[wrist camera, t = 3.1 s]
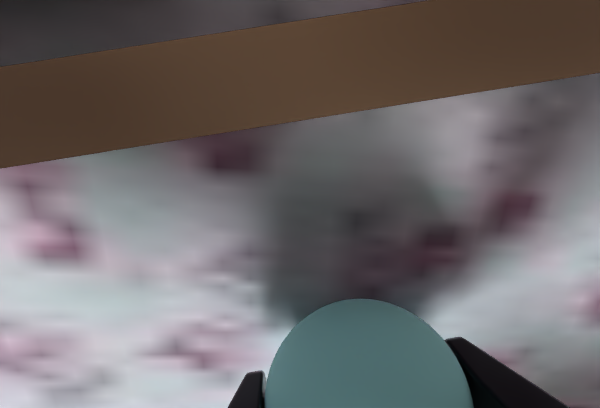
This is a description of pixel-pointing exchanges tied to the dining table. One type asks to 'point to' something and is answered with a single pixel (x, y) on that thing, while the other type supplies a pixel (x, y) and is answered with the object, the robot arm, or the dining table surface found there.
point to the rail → (289, 73)
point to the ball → (365, 361)
